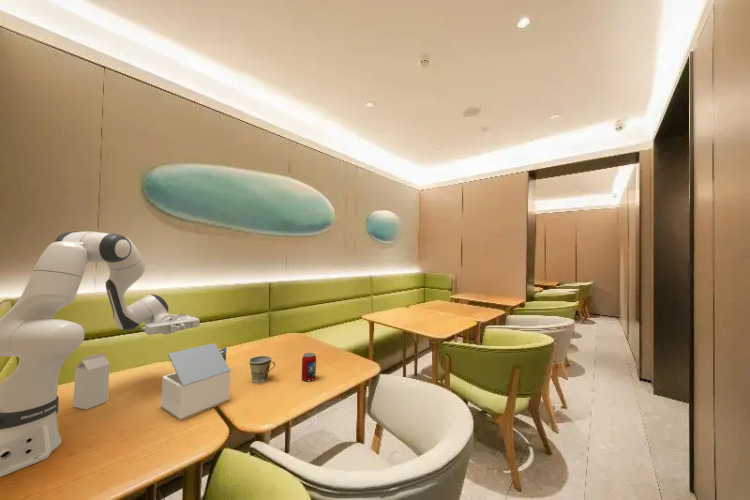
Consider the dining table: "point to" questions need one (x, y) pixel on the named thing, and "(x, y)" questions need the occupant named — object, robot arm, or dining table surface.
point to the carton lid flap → (198, 363)
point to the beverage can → (308, 366)
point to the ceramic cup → (260, 368)
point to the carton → (193, 395)
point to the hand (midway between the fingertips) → (181, 328)
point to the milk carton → (91, 382)
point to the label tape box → (223, 353)
